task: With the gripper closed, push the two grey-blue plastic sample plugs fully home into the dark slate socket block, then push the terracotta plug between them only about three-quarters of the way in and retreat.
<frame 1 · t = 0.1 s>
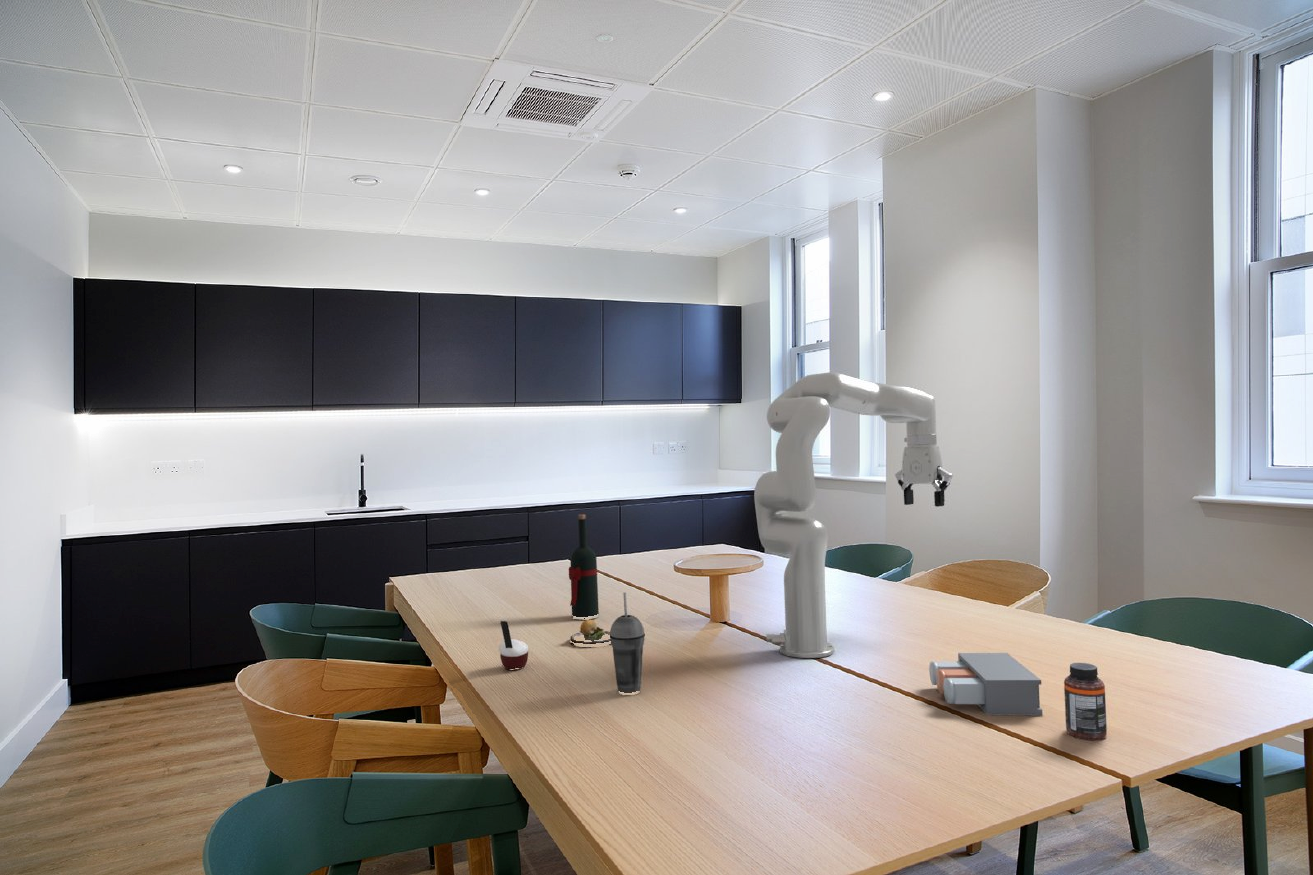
hand: (924, 505, 212), 31 cm above the table, tool pointing down, fingers open, 9 cm apart
supplement bottle: (1086, 735, 130), on the table
cocoa: (513, 669, 180), on the table
socket block: (994, 698, 149), on the table
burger: (593, 643, 203), on the table
plug terracotta: (963, 681, 150), point 3 cm above the table, slide at 0.0 cm
beverage cup: (629, 693, 160), on the table
wine bottle: (583, 619, 230), on the table
plug far: (955, 673, 155), point 3 cm above the table, slide at 0.0 cm
plug near: (972, 690, 144), point 3 cm above the table, slide at 0.0 cm
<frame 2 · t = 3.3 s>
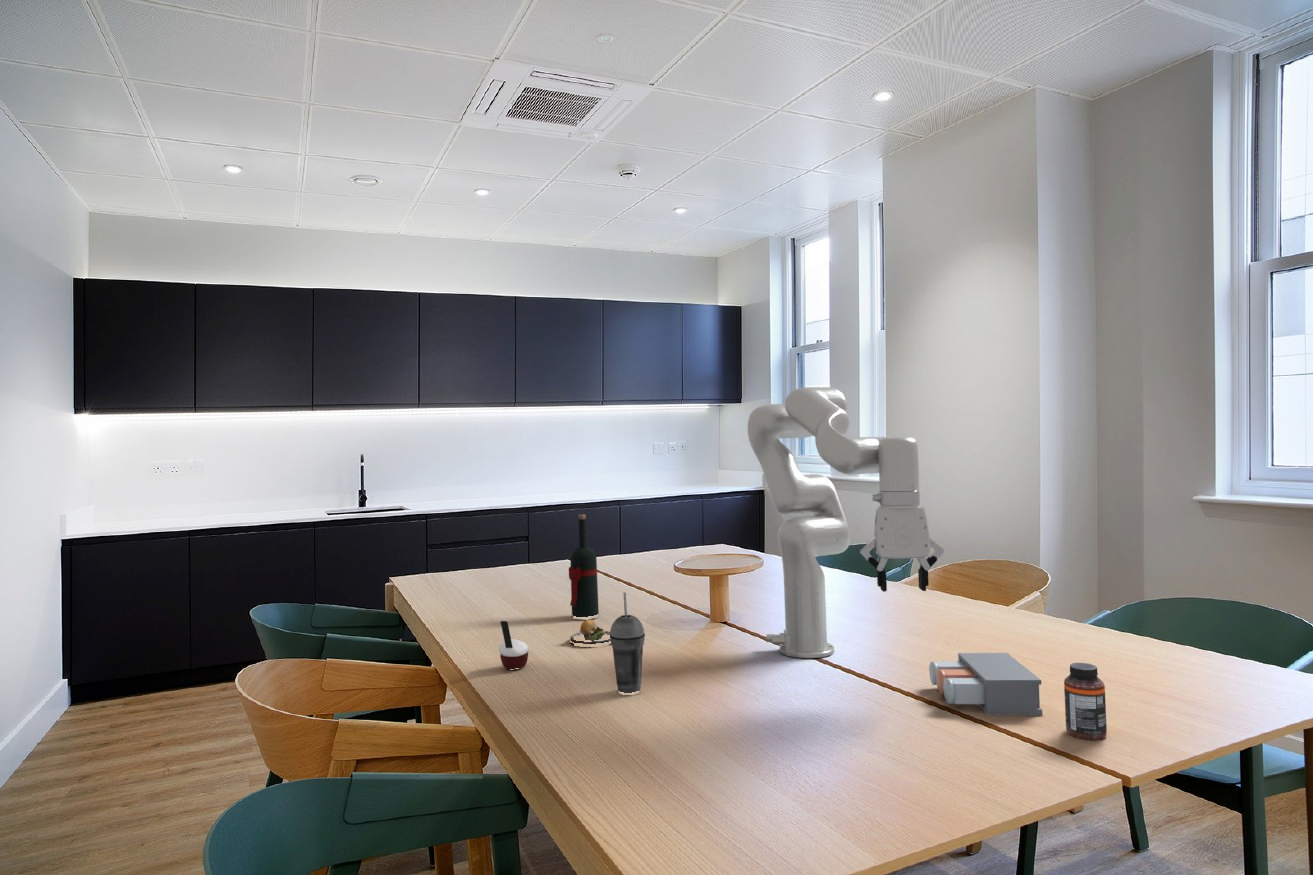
hand: (902, 589, 156), 20 cm above the table, tool pointing down, fingers open, 6 cm apart
nothing on the table moved.
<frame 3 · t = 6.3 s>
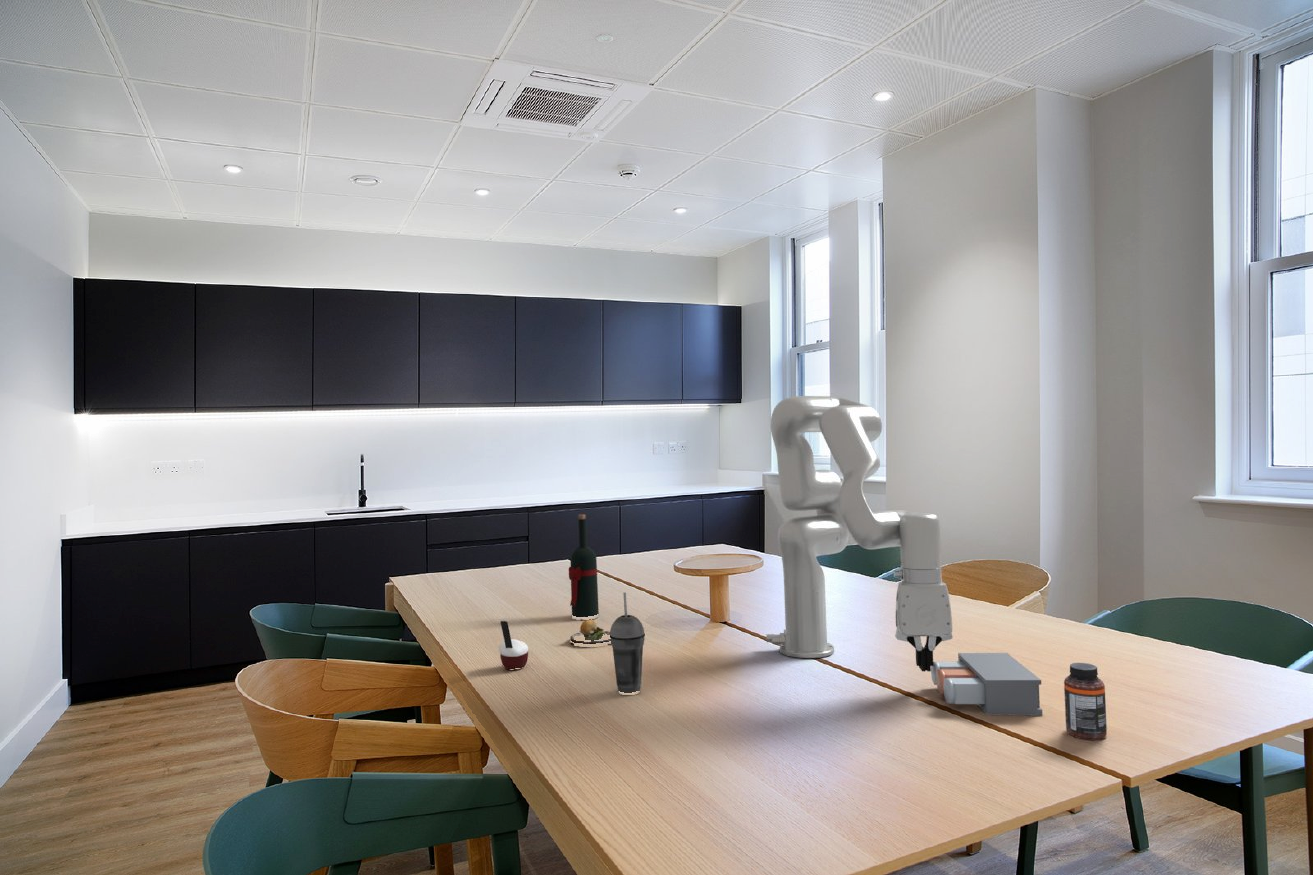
hand: (924, 669, 156), 4 cm above the table, tool pointing down, fingers closed
plug far: (957, 673, 155), point 3 cm above the table, slide at 0.3 cm, touching gripper
everything else where it was.
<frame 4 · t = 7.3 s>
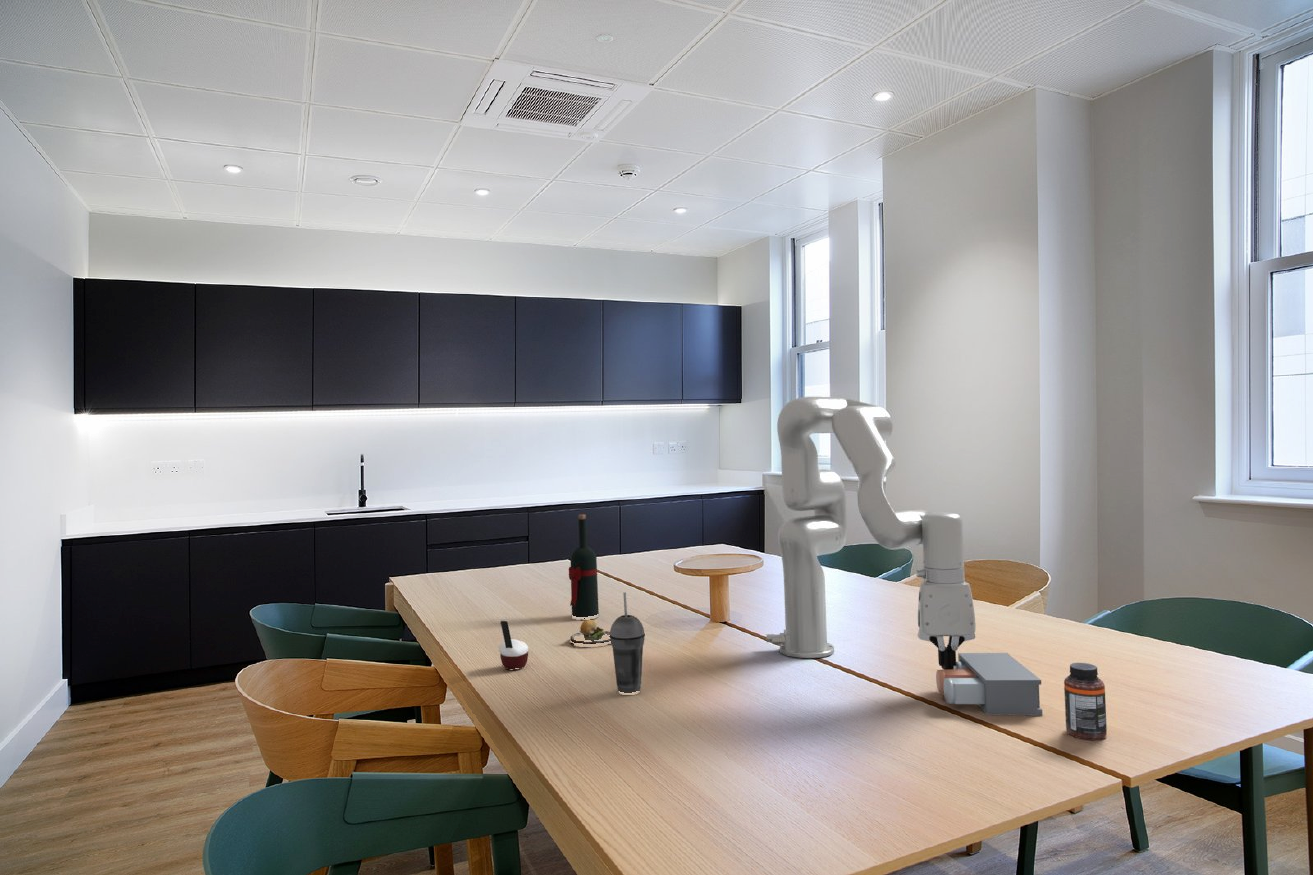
hand: (947, 669, 155), 4 cm above the table, tool pointing down, fingers closed
plug far: (980, 673, 155), point 3 cm above the table, slide at 4.7 cm, touching gripper
everything else where it was.
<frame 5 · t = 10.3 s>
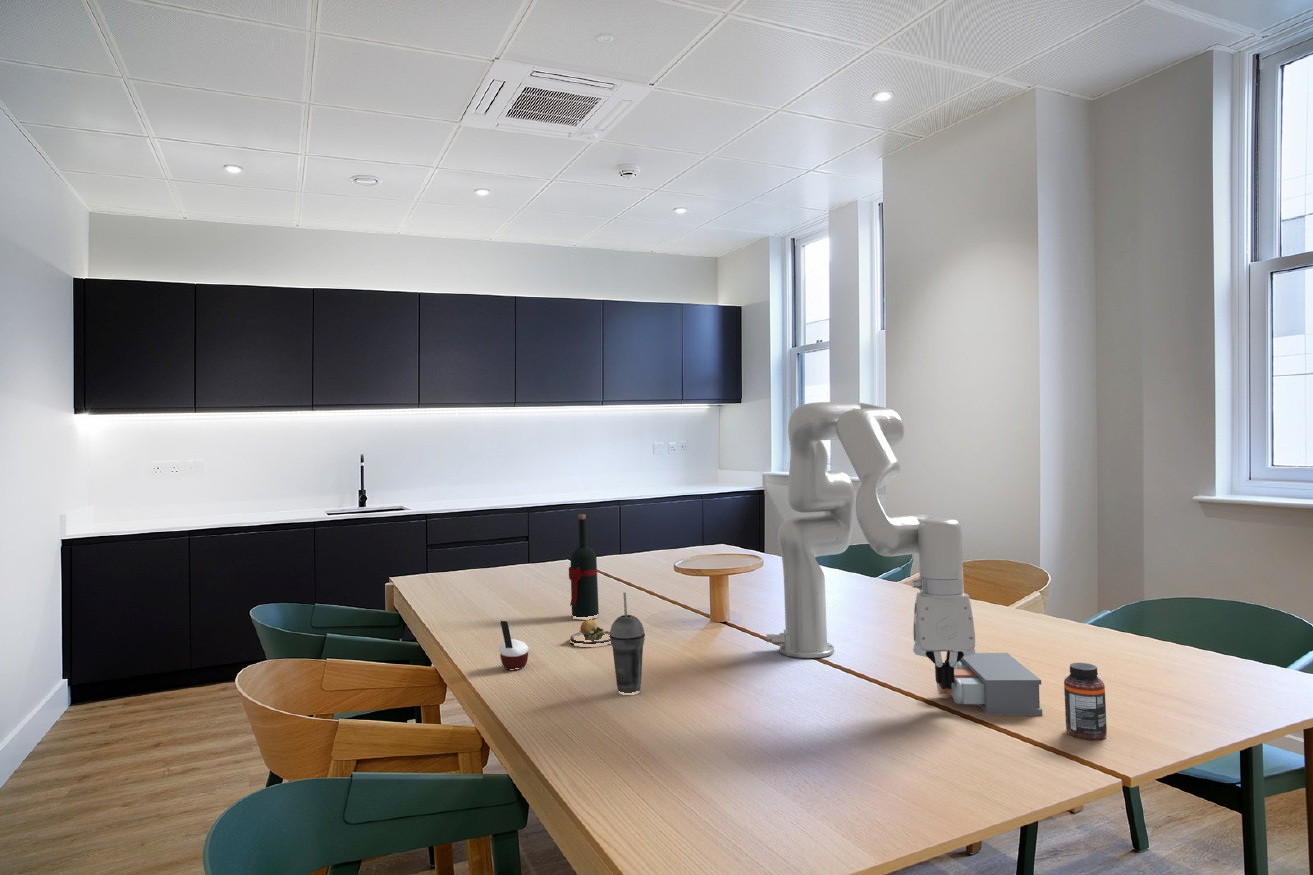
hand: (945, 686, 145), 4 cm above the table, tool pointing down, fingers closed
plug far: (980, 673, 155), point 3 cm above the table, slide at 4.7 cm
plug near: (980, 690, 144), point 3 cm above the table, slide at 1.5 cm, touching gripper
everything else where it was.
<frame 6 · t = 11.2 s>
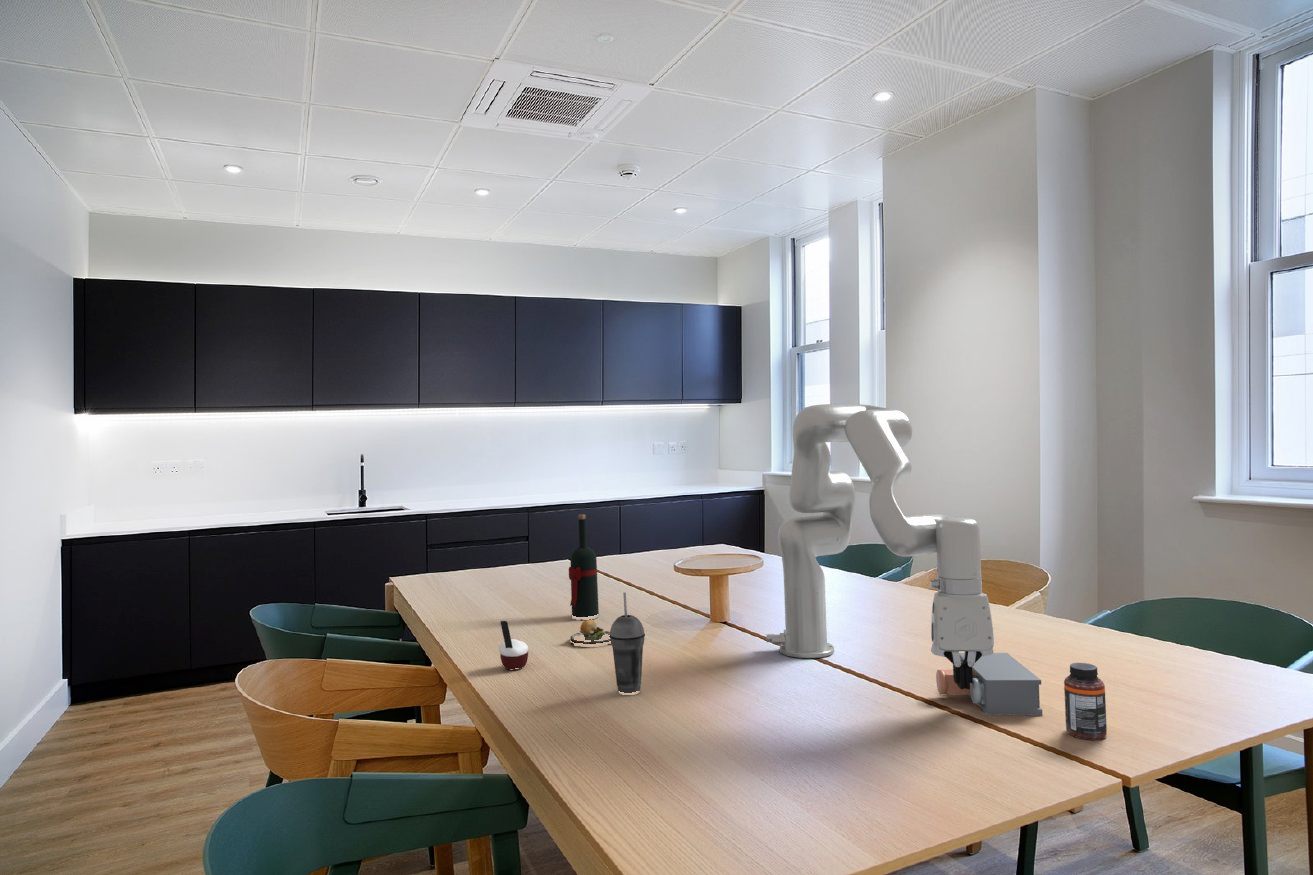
hand: (963, 686, 144), 4 cm above the table, tool pointing down, fingers closed
plug near: (998, 690, 144), point 3 cm above the table, slide at 4.7 cm, touching gripper
everything else where it was.
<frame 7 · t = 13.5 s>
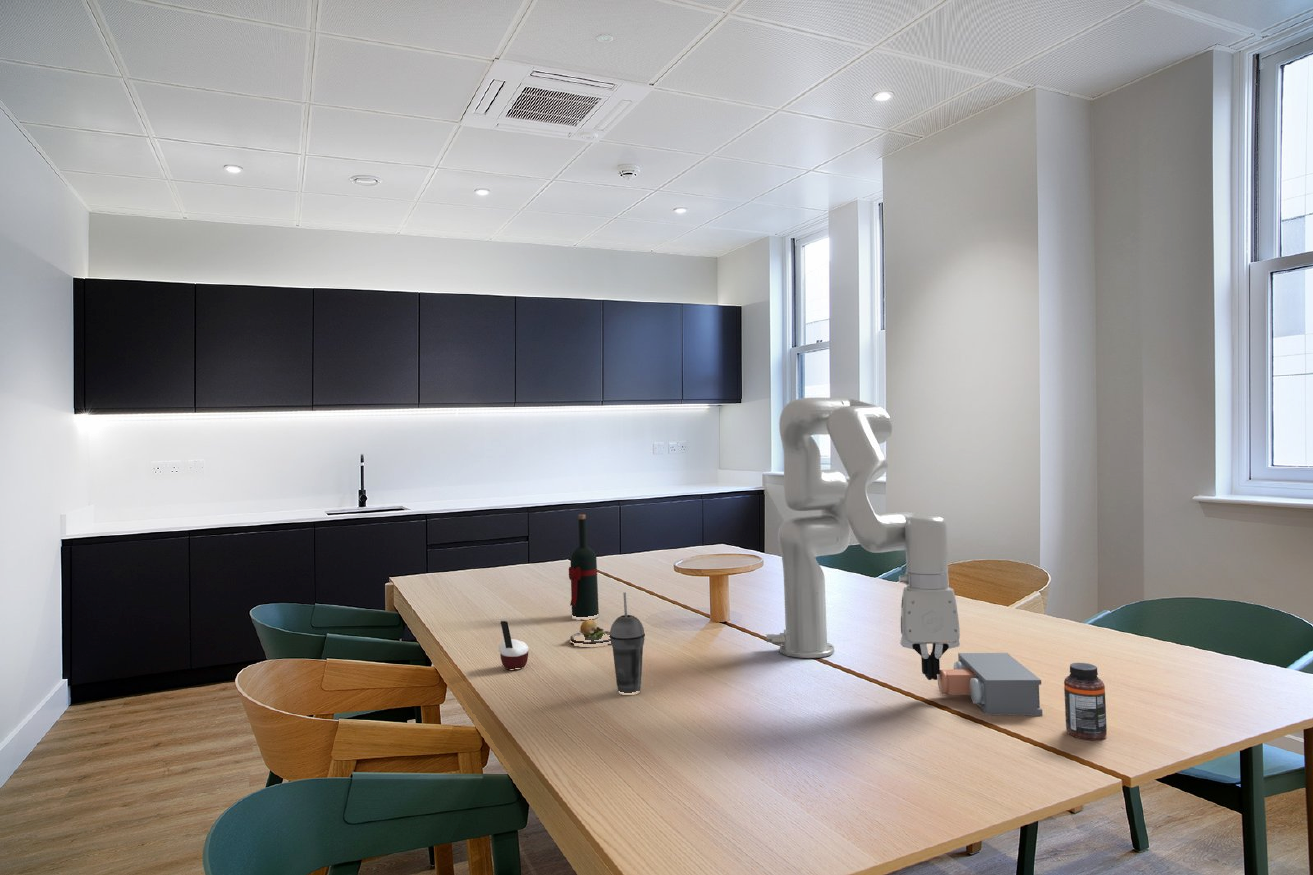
hand: (931, 677, 150), 4 cm above the table, tool pointing down, fingers closed
plug terracotta: (964, 681, 150), point 3 cm above the table, slide at 0.2 cm, touching gripper
plug near: (998, 690, 144), point 3 cm above the table, slide at 4.7 cm
everything else where it was.
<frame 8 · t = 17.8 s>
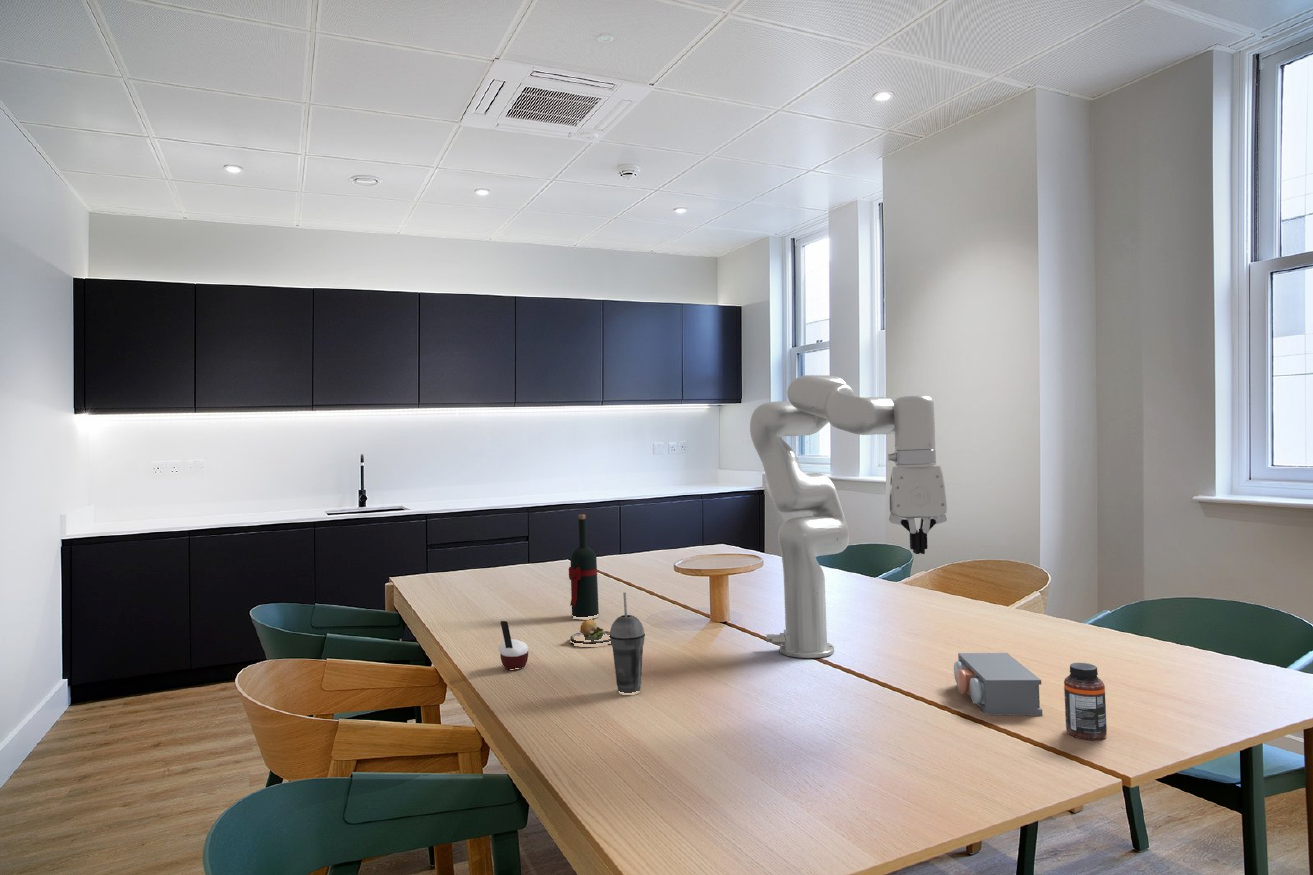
hand: (918, 552, 155), 27 cm above the table, tool pointing down, fingers closed
plug terracotta: (983, 681, 149), point 3 cm above the table, slide at 3.7 cm
everything else where it was.
at the end: plug far slide at 4.7 cm; plug near slide at 4.7 cm; plug terracotta slide at 3.7 cm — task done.
